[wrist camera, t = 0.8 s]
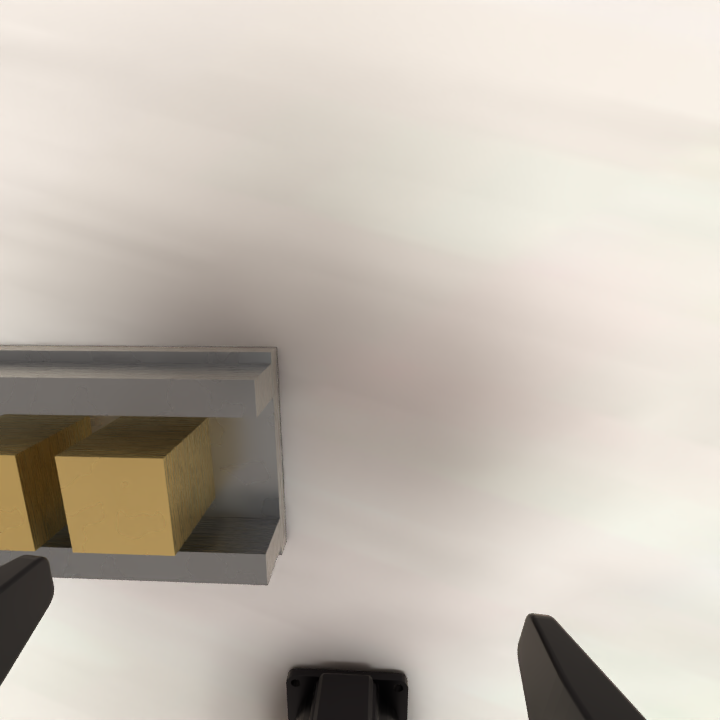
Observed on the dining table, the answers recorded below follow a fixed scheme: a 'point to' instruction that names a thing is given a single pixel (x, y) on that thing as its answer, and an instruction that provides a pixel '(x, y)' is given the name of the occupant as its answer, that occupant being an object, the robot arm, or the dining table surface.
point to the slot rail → (171, 399)
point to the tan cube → (34, 476)
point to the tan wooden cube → (137, 485)
